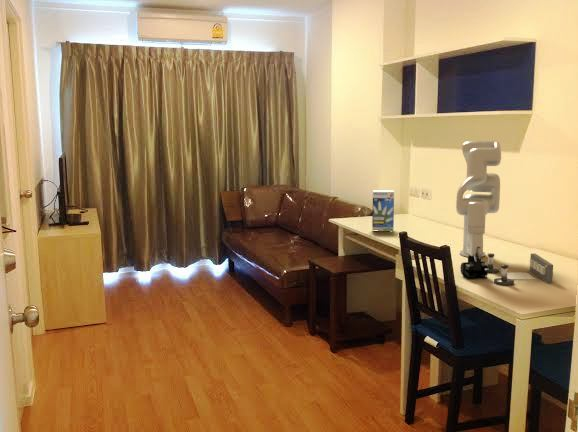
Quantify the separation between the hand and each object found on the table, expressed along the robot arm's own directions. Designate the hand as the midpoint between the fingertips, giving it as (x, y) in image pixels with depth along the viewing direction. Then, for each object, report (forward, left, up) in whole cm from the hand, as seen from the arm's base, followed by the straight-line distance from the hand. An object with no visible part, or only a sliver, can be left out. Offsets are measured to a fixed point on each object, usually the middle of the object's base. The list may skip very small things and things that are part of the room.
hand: (474, 267), depth 244 cm
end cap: (-1, 0, -5) cm, 5 cm away
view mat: (-1, +19, -5) cm, 20 cm away
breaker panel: (-1, +29, -5) cm, 30 cm away
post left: (-10, +10, -5) cm, 15 cm away
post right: (+9, +10, -5) cm, 14 cm away
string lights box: (-104, -29, -5) cm, 108 cm away
